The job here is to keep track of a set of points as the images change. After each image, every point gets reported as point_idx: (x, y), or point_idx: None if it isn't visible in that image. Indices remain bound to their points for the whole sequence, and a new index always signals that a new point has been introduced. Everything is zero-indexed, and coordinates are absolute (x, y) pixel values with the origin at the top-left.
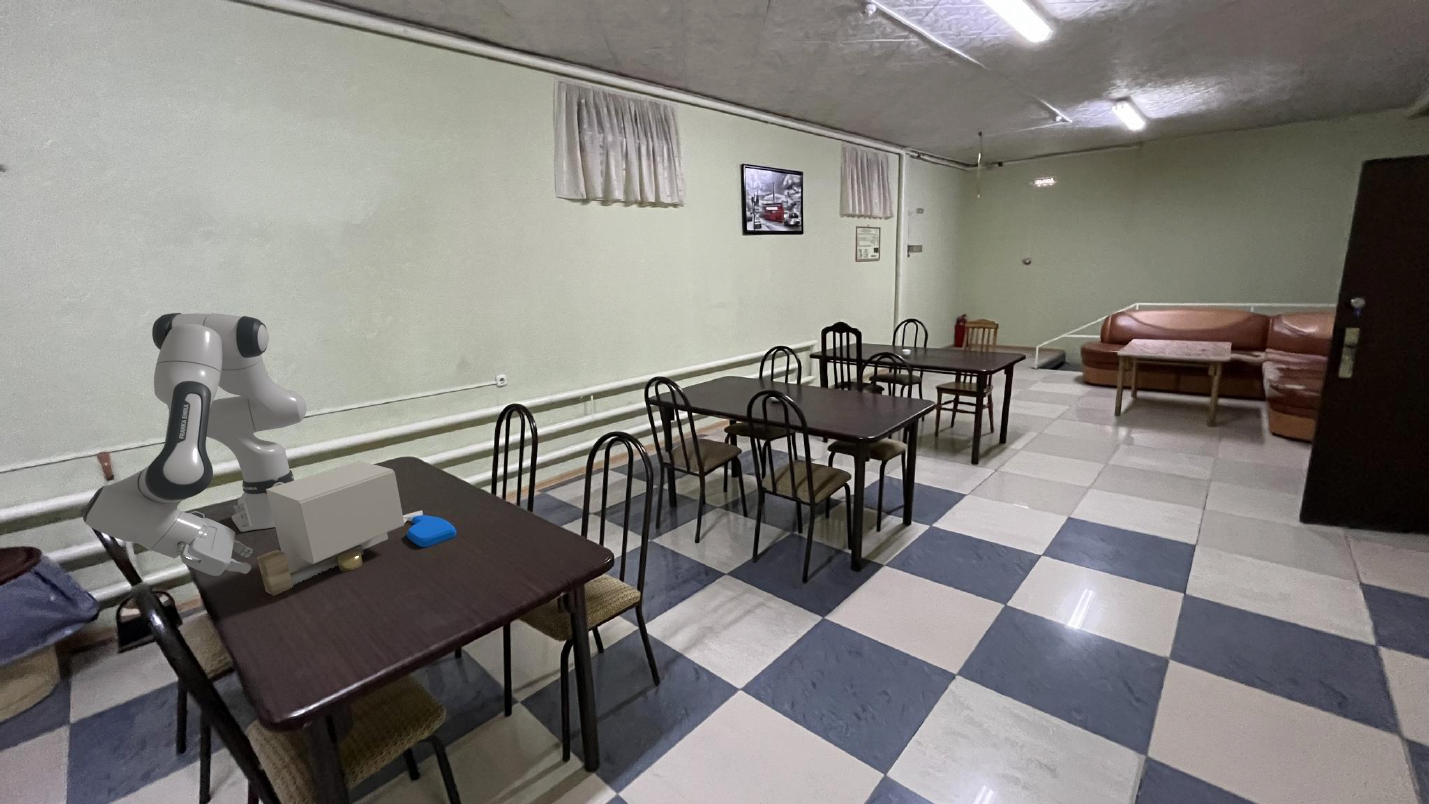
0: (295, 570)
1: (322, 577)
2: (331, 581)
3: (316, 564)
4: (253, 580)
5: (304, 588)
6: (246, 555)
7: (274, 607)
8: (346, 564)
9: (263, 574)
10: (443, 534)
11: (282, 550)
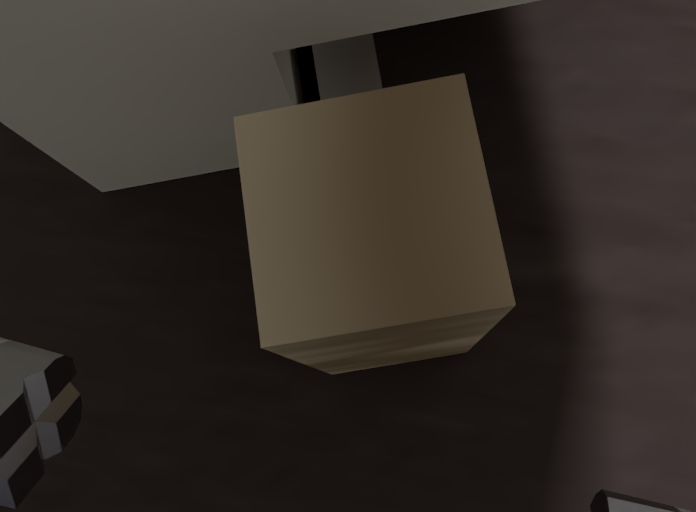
0: None
1: (456, 51)
2: (580, 25)
3: None
4: None
5: (531, 174)
6: (57, 430)
7: (679, 397)
8: None
9: (360, 355)
10: None
11: (19, 106)
